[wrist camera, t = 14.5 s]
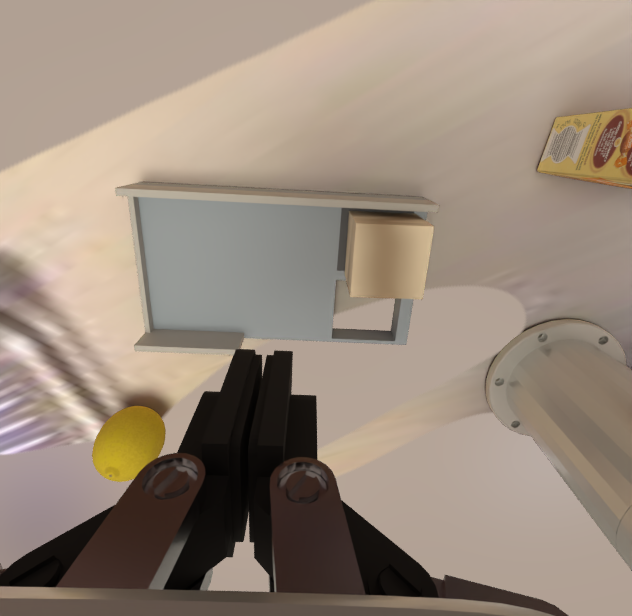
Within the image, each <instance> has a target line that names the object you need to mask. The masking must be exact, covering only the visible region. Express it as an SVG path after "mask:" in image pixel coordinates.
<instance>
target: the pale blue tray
mask: <svg viewBox="0 0 632 616" xmlns="http://www.w3.org/2000/svg"><path fill="white" fill-rule="evenodd" d="M115 192H116V196H128V204H129V212H130V220H131V227H132V235H133V243H134V250H135V258H136V266H137V273H138V281H139V289H140V296H141V304H142V312H143V319H144V327H145V334H144V335H143V336H142V337H141V338H140V339H139V341H138V342H137V343H136V344H135V345H134V348H135V351H141V352H166V353H190V354H214V355H234V353H235V350H236V349H240V348H241V345H242V342H243V340H244V338H257V339H280V340H281V339H282V340H305V341H327V342H352V343H375V344H399V345H406V342H407V337H408V330H409V324H410V317H411V312H412V305H413V299H397V298H395V305H394V313H393V320H392V328H391V331H378V330H356V329H333V328H332V327H333V314H334V301H335V288H336V280H345V281H346V278H345V262H346V248H347V234H348V220H349V211H365V212H390V213H415V214H417V215H418V216H420V217H421V218H422V219H424V220H425V221H426V218H427V212H436V213H438V211H439V205H438V204H436V203H434V202H432V201H430V200H428V199H426V198H424V197H415V196H396V195H377V194H359V193H340V192H322V191H303V190H284V189H266V188H247V187H228V186H210V185H191V184H172V183H154V182H139V183H135V184H130V185H126V186H122V187H117V188H115Z"/></svg>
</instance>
